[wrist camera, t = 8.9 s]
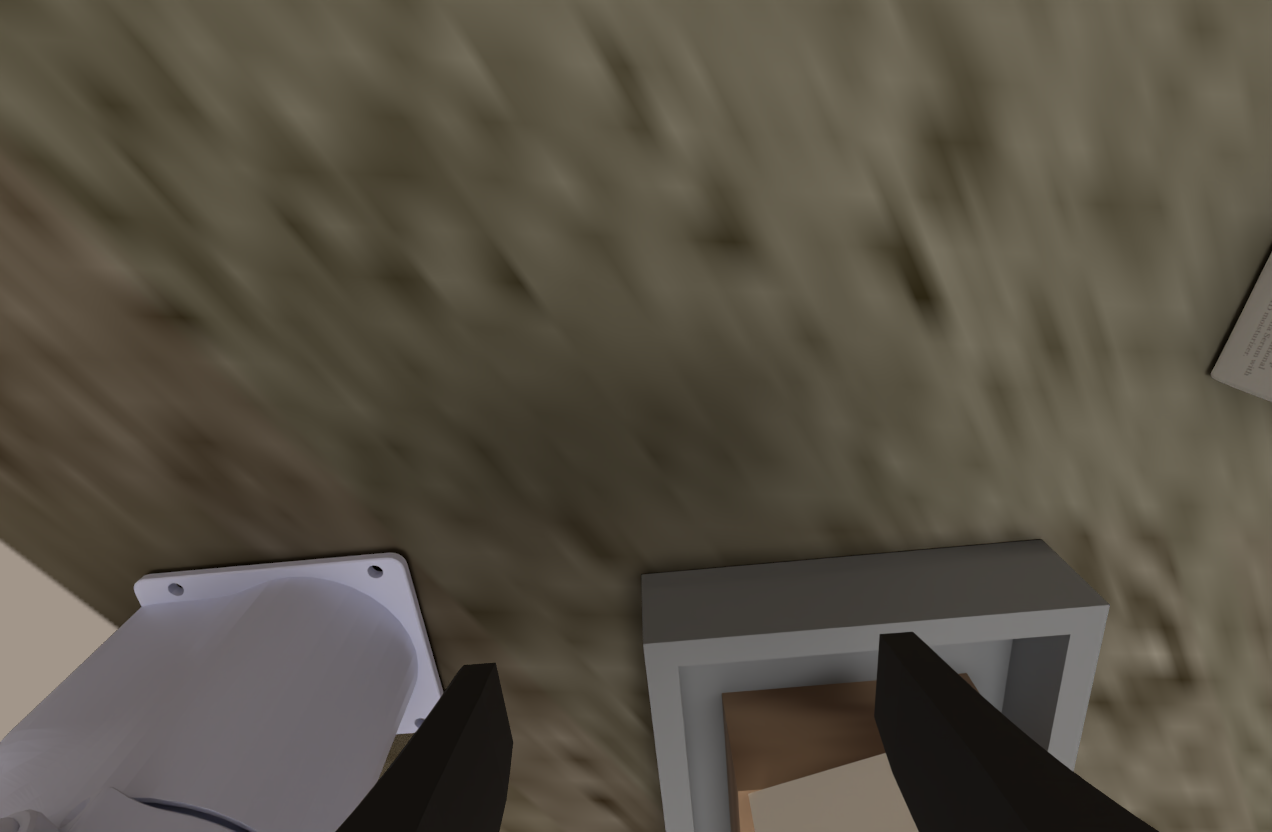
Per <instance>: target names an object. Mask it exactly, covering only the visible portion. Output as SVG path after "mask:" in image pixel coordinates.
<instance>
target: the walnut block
mask: <svg viewBox="0 0 1272 832" xmlns="http://www.w3.org/2000/svg"><path fill="white" fill-rule="evenodd" d="M959 675H960V676H961V677H962V678H963V679H964V680H965V681H966V682H968V683H969V684H970V685H971V686H972V687H973V688H974V689H975V690H976V691H977V692H978V693H979V691H978V690H977V688H976V687H975V685H974V684H973V682H972V680H971V679H970V677H969V676H968V674H967V673H961V674H959ZM875 695H876V680H875V681H863V682H851V683H838V684H826V685H814V686H801V687H789V688H777V689H765V690H752V691H740V692H728V693H722V705H723V720H724V735H725V751H726V766H727V781H728V796H729V811H730V827H731V832H755V829H754V823H753V818H752V812H751V807H750V801H749V796H748V794H749V793H752V792H755V791H759V790H762V789H766V788H769V787H772V786H776V785H779V784H782V783H786V782H789V781H793V780H796V779H799V778H803V777H806V776H809V775H813V774H816V773H819V772H823V771H826V770H830V769H833V768H836V767H840V766H843V765H846V764H850V763H853V762H857V761H860V760H863V759H867V758H870V757H873V756H877V755H880V754H884V753H885V750H884V747H883V743H882V740H881V737H880V734H879V731H878V728H877V724H876V721H875V718H874V710H875Z"/></svg>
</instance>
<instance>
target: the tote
mask: <svg viewBox="0 0 1272 832" xmlns="http://www.w3.org/2000/svg"><path fill="white" fill-rule="evenodd" d="M641 581H642V622H643V648H644V656H645V664H646V673H647V681H648V689H649V697H650V705H651V714H652V722H653V730H654V738H655V746H656V755H657V763H658V771H659V779H660V787H661V796H662V804H663V812H664V820H665V829H666V832H731V827H730V811H729V796H728V781H727V766H726V751H725V735H724V720H723V705H722V693H728V692H740V691H752V690H765V689H777V688H789V687H801V686H814V685H826V684H838V683H851V682H863V681H875V680H877V665H878V651H879V636H880V634H888V633H901V632H914V633H915V634H916V635H917V636H918V637H919V638H921V639H922V640H923V641H924V642H925V643H926V644H927V645H928V646H929V647H930V648H931V649H932V650H933V651H934V652H935V653H937V654H938V655H939V656H940V657H941V658H942V659H943V660H944V661H945V662H946V663H947V664H948V665H949V666H950V667H951V668H952V669H954V670H955V671H956V672H957V673H958V674H961V673H967V674H968V676H969V677H970V679H971V680H972V682H973V684H974V685H975V687H976V688H977V690H978V691H979V693H980V694H981V695H982V696H983V697H984V698H985V699H986V700H987V701H989V702H990V703H991V704H992V705H993V706H994V707H995V708H997V709H998V710H999V711H1000V712H1001V713H1002V714H1003V715H1005V716H1006V717H1007V718H1008V719H1009V720H1010V721H1011V722H1013V723H1014V724H1015V725H1016V726H1017V727H1018V728H1020V729H1021V730H1022V731H1023V732H1024V733H1026V734H1027V735H1028V736H1029V737H1030V738H1032V739H1033V740H1034V741H1035V742H1036V743H1038V744H1039V745H1040V746H1041V747H1043V748H1044V749H1045V750H1046V751H1048V752H1049V753H1050V754H1051V755H1053V756H1054V757H1055V758H1056V759H1058V760H1059V761H1060V762H1061V763H1063V764H1064V765H1065V766H1066V767H1068V768H1069V769H1070V770H1072V771H1074V767H1075V762H1076V757H1077V753H1078V748H1079V744H1080V739H1081V735H1082V730H1083V725H1084V721H1085V716H1086V712H1087V707H1088V703H1089V698H1090V693H1091V689H1092V684H1093V680H1094V675H1095V671H1096V666H1097V661H1098V657H1099V652H1100V648H1101V643H1102V639H1103V634H1104V629H1105V625H1106V620H1107V616H1108V611H1109V606H1110V605H1109V604H1108V603H1107V602H1106V601H1105V600H1104V599H1103V598H1102V597H1101V596H1100V595H1099V594H1098V593H1097V592H1096V591H1095V590H1094V589H1093V588H1092V587H1091V586H1090V585H1089V584H1088V583H1087V582H1086V581H1085V580H1084V579H1083V578H1081V577H1080V576H1079V575H1078V574H1077V573H1076V572H1075V571H1074V570H1073V569H1072V568H1071V567H1070V566H1069V565H1068V564H1067V563H1066V562H1065V561H1064V560H1063V559H1062V558H1061V557H1060V556H1059V555H1058V554H1057V553H1056V552H1055V551H1053V550H1052V549H1051V548H1050V547H1049V546H1048V545H1047V544H1046V543H1045V542H1044V541H1043V540H1042V539H1041V540H1030V541H1019V542H1007V543H996V544H984V545H973V546H962V547H950V548H939V549H927V550H916V551H905V552H893V553H882V554H870V555H859V556H847V557H836V558H825V559H813V560H802V561H790V562H779V563H768V564H756V565H745V566H733V567H722V568H711V569H699V570H688V571H676V572H665V573H653V574H642V575H641Z"/></svg>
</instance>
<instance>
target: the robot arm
mask: <svg viewBox="0 0 1272 832" xmlns="http://www.w3.org/2000/svg"><path fill="white" fill-rule="evenodd" d="M373 565H374V566H378V567H380V568H381V569H382V570H383V571H377V570H375V569H374V568H373V567H372V566H373ZM177 584H179V585H180V586H182V588H181V587H179V586H178V585H177ZM134 591H135V594H136V596H137V598H138V600H139V602H140V604H141V606H142V607H141V608H140V609H139V610H138V611H137V612H136V613H135V614H134V615H132V616H131V617H130V618H129V619H128V620H127V621H126V622H125V623H124V624H123V625H122V626H121V627H120V628H119V629H118V630H117V631H116V632H115V633H113V634H112V635H111V636H110V637H109V638H108V639H107V640H106V641H105V642H104V643H103V644H102V645H101V646H100V647H99V648H98V649H97V650H96V651H95V652H93V653H92V654H91V655H90V657H88V658H87V659H86V660H85V661H84V662H83V663H82V664H81V665H80V666H79V667H78V668H77V669H76V670H75V671H73V672H72V673H71V674H70V675H69V676H68V677H67V678H66V679H65V680H64V681H63V682H62V683H61V684H60V685H59V686H58V687H57V688H56V689H54V690H53V691H52V692H51V693H50V694H49V695H48V696H47V697H46V698H45V699H44V700H43V701H42V702H41V703H40V704H39V705H38V706H36V707H35V708H34V709H33V710H32V711H31V712H30V713H29V714H28V715H27V716H26V717H25V718H24V719H23V720H22V721H21V722H20V723H19V724H18V725H16V726H15V727H14V728H13V729H12V730H11V731H10V732H9V733H8V734H7V735H6V736H5V737H4V739H3V740H2V741H1V742H0V832H499V830H500V826H501V821H502V817H503V813H504V808H505V803H506V798H507V791H508V783H509V775H510V766H511V757H512V748H513V739H512V735H511V730H510V726H509V721H508V717H507V712H506V708H505V703H504V699H503V694H502V689H501V685H500V680H499V676H498V671H497V667H496V663H486V664H473V665H464V666H463V667H462V668H461V669H460V670H459V671H458V673H457V674H456V676H455V677H454V678H453V680H452V681H451V683H450V684H449V686H448V687H447V689H446V690H445V691H444V693H443V689H442V686H441V682H440V678H439V675H438V671H437V668H436V664H435V661H434V657H433V653H432V650H431V646H430V643H429V639H428V636H427V632H426V628H425V625H424V621H423V618H422V614H421V611H420V607H419V604H418V600H417V596H416V593H415V589H414V586H413V582H412V579H411V575H410V571H409V568H408V564H407V562H406V560H405V558H403V557H402V556H401V555H399V554H397V553H390V552H389V553H378V554H367V555H356V556H345V557H334V558H322V559H311V560H300V561H289V562H278V563H267V564H256V565H244V566H233V567H222V568H211V569H200V570H189V571H178V572H167V573H155V574H148V575H144V576H143V577H142V578H141V579H140V580H139V581H137V582H136V583H135V585H134ZM420 718H423V719H425V720H422V719H420ZM874 718H875V721H876V724H877V728H878V731H879V734H880V737H881V740H882V743H883V747H884V750H885V753H886V755H887V758H888V761H889V764H890V767H891V770H892V773H893V775H894V778H895V780H896V782H897V785H898V787H899V789H900V791H901V794H902V796H903V798H904V800H905V802H906V805H907V807H908V809H909V811H910V814H911V816H912V818H913V820H914V822H915V825H916V827H917V829H918V831H919V832H1159V831H1157V830H1156V829H1154V828H1153V827H1151V826H1150V825H1148V824H1147V823H1145V822H1144V821H1142V820H1141V819H1139V818H1138V817H1136V816H1135V815H1133V814H1132V813H1130V812H1129V811H1127V810H1126V809H1125V808H1123V807H1122V806H1120V805H1119V804H1117V803H1116V802H1115V801H1113V800H1112V799H1110V798H1109V797H1108V796H1106V795H1105V794H1103V793H1102V792H1100V791H1099V790H1098V789H1096V788H1095V787H1093V786H1092V785H1091V784H1089V783H1088V782H1086V781H1085V780H1084V779H1082V778H1081V777H1080V776H1078V775H1077V774H1076V773H1074V772H1073V771H1072V770H1070V769H1069V768H1068V767H1066V766H1065V765H1064V764H1063V763H1061V762H1060V761H1059V760H1058V759H1056V758H1055V757H1054V756H1053V755H1051V754H1050V753H1049V752H1048V751H1046V750H1045V749H1044V748H1043V747H1041V746H1040V745H1039V744H1038V743H1036V742H1035V741H1034V740H1033V739H1032V738H1030V737H1029V736H1028V735H1027V734H1026V733H1024V732H1023V731H1022V730H1021V729H1020V728H1018V727H1017V726H1016V725H1015V724H1014V723H1013V722H1011V721H1010V720H1009V719H1008V718H1007V717H1006V716H1005V715H1003V714H1002V713H1001V712H1000V711H999V710H998V709H997V708H995V707H994V706H993V705H992V704H991V703H990V702H989V701H987V700H986V699H985V698H984V697H983V696H982V695H981V694H980V693H978V692H977V691H976V690H975V689H974V688H973V687H972V686H971V685H970V684H969V683H968V682H966V681H965V680H964V679H963V678H962V677H961V676H960V675H959V674H958V673H957V672H956V671H955V670H954V669H952V668H951V667H950V666H949V665H948V664H947V663H946V662H945V661H944V660H943V659H942V658H941V657H940V656H939V655H938V654H937V653H935V652H934V651H933V650H932V649H931V648H930V647H929V646H928V645H927V644H926V643H925V642H924V641H923V640H922V639H921V638H919V637H918V636H917V635H916V634H915V633H914V632H901V633H888V634H880V636H879V651H878V665H877V680H876V695H875V710H874ZM405 733H415V734H414V735H413V736H412V738H411V739H410V740H409V742H408V743H407V744H406V746H405V747H404V748H403V750H402V751H401V752H400V754H399V755H398V756H397V758H396V759H395V760H394V762H393V763H392V764H391V765H390V767H389V768H388V769H387V771H386V772H385V773H384V774H383V775H382V777H381V778H380V779H379V776H380V774H381V771H382V768H383V766H384V763H385V761H386V758H387V756H388V753H389V751H390V748H391V746H392V743H393V741H394V738H395V736H396V734H405ZM378 779H379V780H378ZM377 781H378V782H377Z"/></svg>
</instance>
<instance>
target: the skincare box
mask: <svg viewBox="0 0 1272 832" xmlns="http://www.w3.org/2000/svg"><path fill="white" fill-rule="evenodd" d="M1211 377H1212V378H1213V379H1215V380H1217V381H1219V382H1222V383H1224V384H1227V385H1229V386H1231V387H1234V388H1236V389H1239V390H1242V391H1244V392H1247V393H1249V394H1252V395H1254V396H1257V397H1260V398H1262V399H1265V400H1268V401H1270V402H1272V252H1271V254H1270V256H1269V258H1268V260H1267V262H1266V264H1265V266H1264V268H1263V270H1262V272H1261V274H1260V276H1259V278H1258V280H1257V282H1256V284H1255V286H1254V288H1253V290H1252V292H1251V294H1250V296H1249V299H1248V301H1247V303H1246V305H1245V307H1244V309H1243V311H1242V313H1241V315H1240V317H1239V319H1238V321H1237V323H1236V325H1235V327H1234V329H1233V331H1232V333H1231V335H1230V337H1229V339H1228V341H1227V343H1226V345H1225V347H1224V349H1223V351H1222V353H1221V355H1220V357H1219V359H1218V361H1217V363H1216V364H1215V366H1214V368H1213V370H1212V372H1211Z"/></svg>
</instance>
